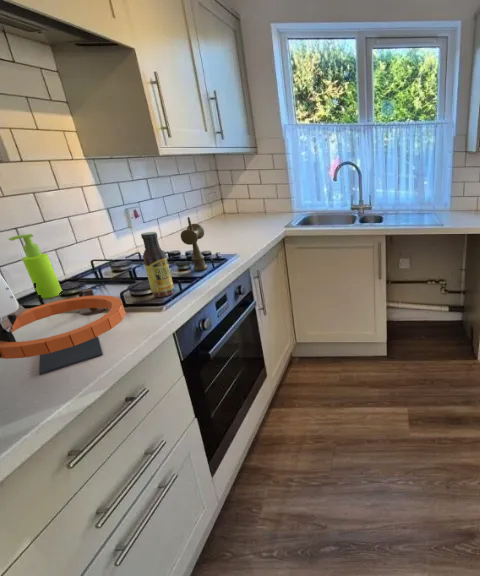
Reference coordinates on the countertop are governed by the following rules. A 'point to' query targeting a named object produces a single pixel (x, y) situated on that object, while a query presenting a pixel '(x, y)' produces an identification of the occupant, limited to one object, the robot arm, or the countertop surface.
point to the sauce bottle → (156, 266)
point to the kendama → (194, 244)
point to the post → (90, 310)
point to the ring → (68, 338)
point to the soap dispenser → (39, 268)
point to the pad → (70, 356)
